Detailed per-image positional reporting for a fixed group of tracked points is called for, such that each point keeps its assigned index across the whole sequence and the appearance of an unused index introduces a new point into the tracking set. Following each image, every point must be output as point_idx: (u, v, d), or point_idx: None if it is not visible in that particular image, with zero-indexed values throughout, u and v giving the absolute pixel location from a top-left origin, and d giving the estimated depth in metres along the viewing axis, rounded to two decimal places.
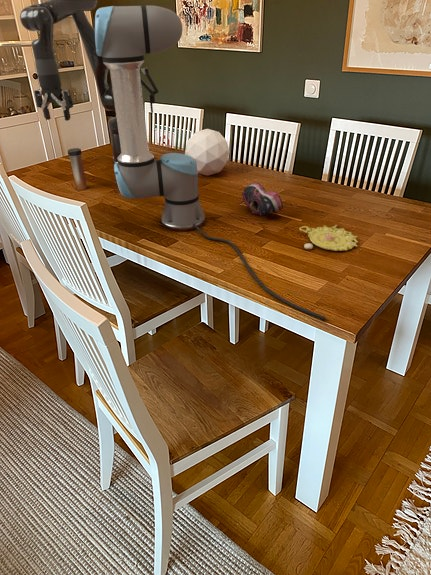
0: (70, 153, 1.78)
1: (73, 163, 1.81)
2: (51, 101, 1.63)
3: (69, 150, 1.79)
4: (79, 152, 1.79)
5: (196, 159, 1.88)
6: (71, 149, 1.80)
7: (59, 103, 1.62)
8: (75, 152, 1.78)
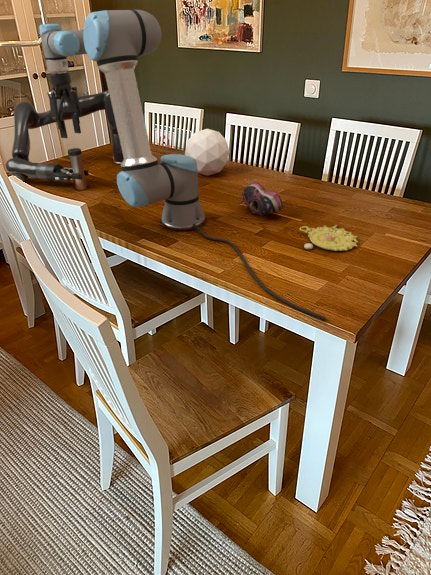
0: (70, 153, 1.78)
1: (73, 163, 1.81)
2: None
3: (69, 150, 1.79)
4: (79, 152, 1.79)
5: (196, 159, 1.88)
6: (71, 149, 1.80)
7: None
8: (75, 152, 1.78)
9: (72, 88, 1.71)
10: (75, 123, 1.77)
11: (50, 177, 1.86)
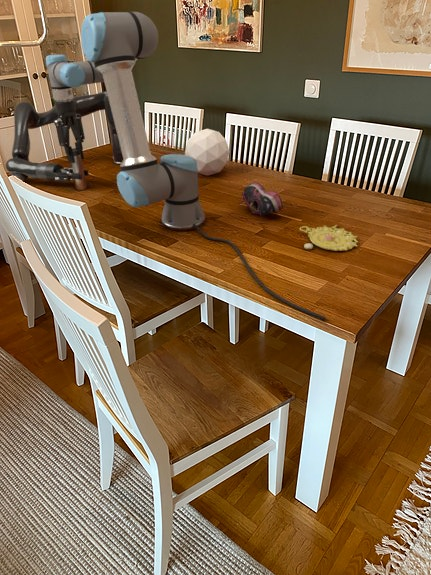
0: None
1: (73, 163, 1.81)
2: None
3: None
4: (79, 152, 1.79)
5: (196, 159, 1.88)
6: None
7: None
8: (75, 152, 1.78)
9: (77, 115, 1.77)
10: None
11: (50, 177, 1.86)
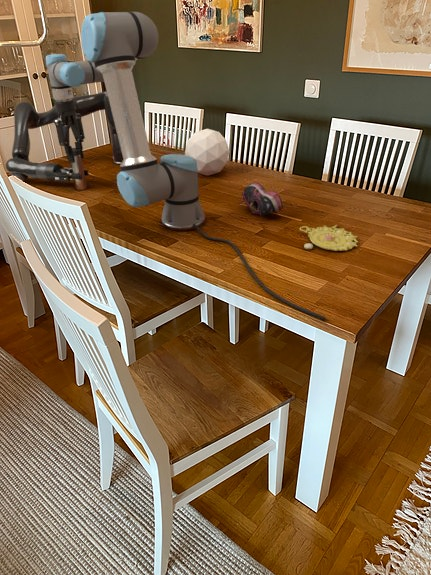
0: (79, 151, 1.79)
1: (73, 163, 1.81)
2: None
3: (75, 150, 1.78)
4: None
5: (196, 159, 1.88)
6: None
7: None
8: (80, 149, 1.81)
9: (77, 115, 1.77)
10: None
11: (50, 177, 1.86)
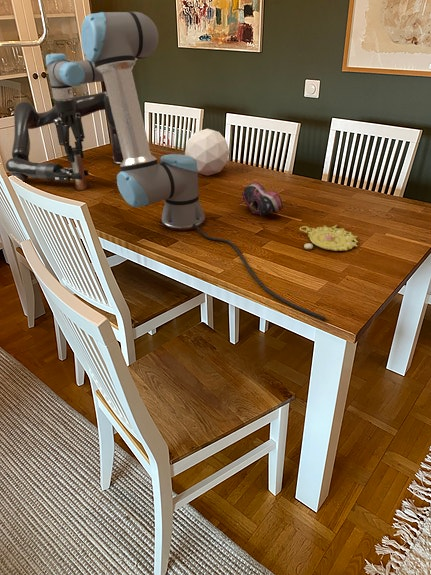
0: None
1: (73, 163, 1.81)
2: None
3: (78, 148, 1.80)
4: None
5: (196, 159, 1.88)
6: (77, 149, 1.79)
7: None
8: None
9: (77, 114, 1.77)
10: None
11: (50, 177, 1.86)
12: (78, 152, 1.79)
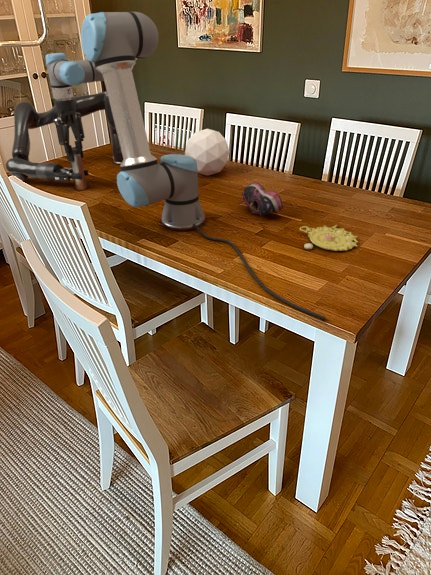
0: None
1: (73, 163, 1.81)
2: None
3: None
4: None
5: (196, 159, 1.88)
6: (75, 147, 1.81)
7: None
8: None
9: (77, 114, 1.77)
10: None
11: (50, 177, 1.86)
12: None
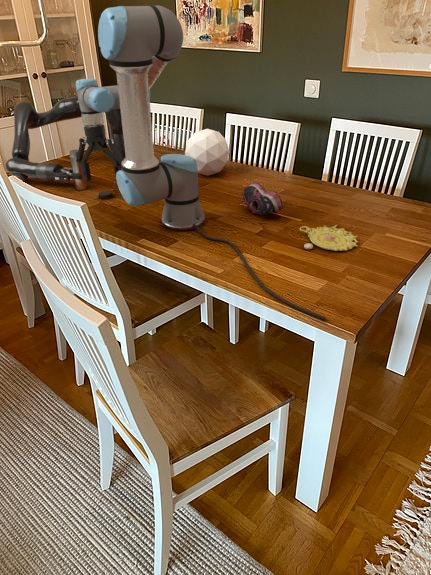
0: (104, 197, 1.76)
1: (73, 163, 1.81)
2: None
3: (101, 194, 1.77)
4: (111, 194, 1.78)
5: (196, 159, 1.88)
6: (101, 192, 1.78)
7: None
8: (108, 195, 1.77)
9: None
10: (88, 170, 1.75)
11: (50, 177, 1.86)
12: None
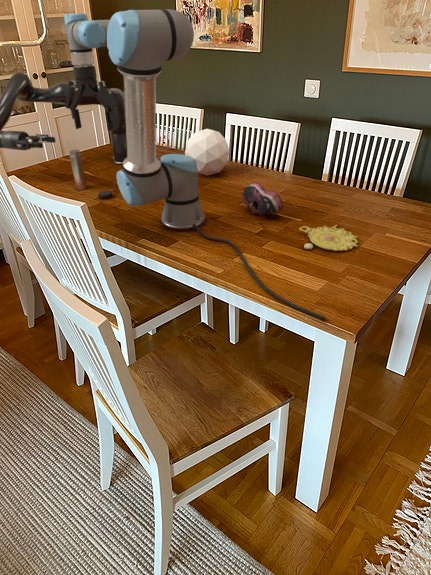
0: (104, 197, 1.76)
1: (73, 163, 1.81)
2: (34, 139, 1.83)
3: (101, 194, 1.77)
4: (111, 194, 1.78)
5: (196, 159, 1.88)
6: (101, 192, 1.78)
7: (39, 135, 1.85)
8: (108, 195, 1.77)
9: None
10: (77, 117, 1.64)
11: (15, 145, 1.83)
12: None
